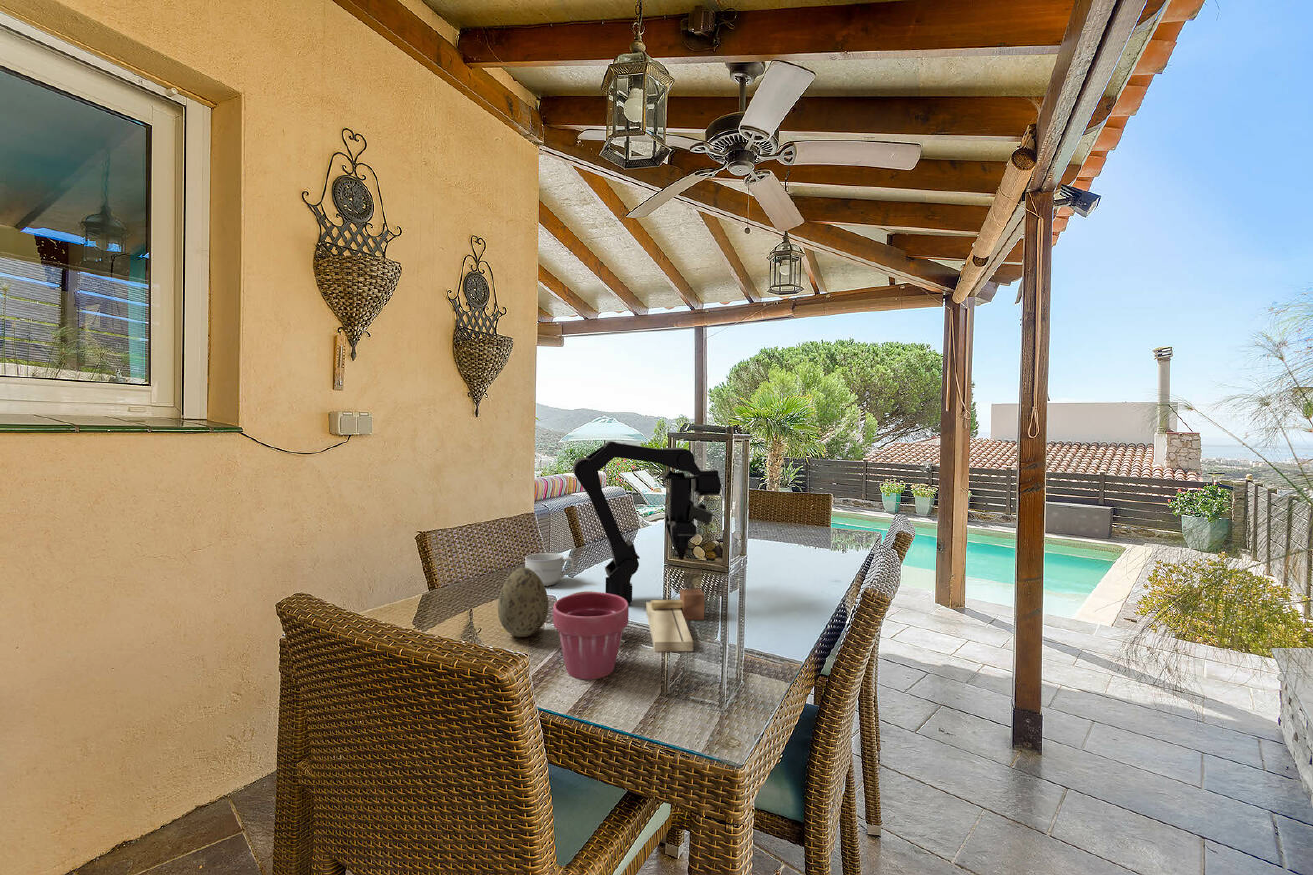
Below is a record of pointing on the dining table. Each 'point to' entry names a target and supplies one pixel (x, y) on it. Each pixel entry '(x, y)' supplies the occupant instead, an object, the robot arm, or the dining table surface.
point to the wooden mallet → (685, 604)
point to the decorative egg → (523, 603)
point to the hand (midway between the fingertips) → (679, 554)
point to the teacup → (548, 566)
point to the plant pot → (590, 632)
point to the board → (668, 629)
